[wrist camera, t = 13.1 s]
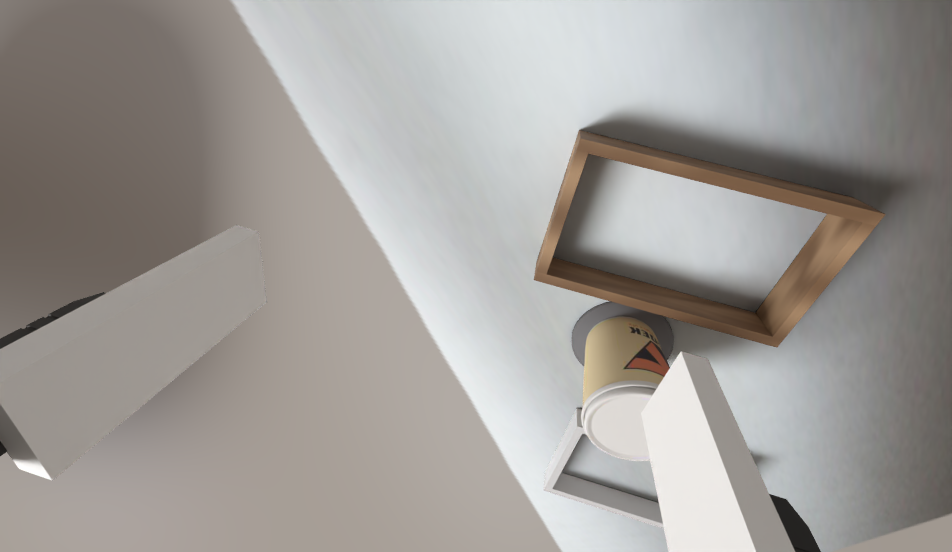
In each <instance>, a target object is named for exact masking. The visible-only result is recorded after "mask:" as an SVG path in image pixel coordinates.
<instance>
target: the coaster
mask: <svg viewBox="0 0 952 552" xmlns="http://www.w3.org/2000/svg"><path fill="white" fill-rule="evenodd" d="M618 316H624V317H632V318H636V319H638V320H640V321H642V322H644V323H645V324H647V325H648V326H649V327H650V328H651V329H652V330H653V332H654V333H655V335H656V337H657V339H658V342H659V344H660V346H661V348H662V351H663V353H664V355H665V357H666V360H667V359H668V357H669V356H670V354H671V351H672V348H673V343H674V342H673V334H672V330H671V328H670V325H669V323H668V322H667V320H666V319H665V318H664V317H663V316H662V315H658V314H655V313H651V312H647V311H644V310H640V309H637V308H633V307H629V306H626V305H622V304H619V303H615V302H607V303H603V304H600V305H598V306H596V307H593V308H592V309H590V310H588V311H587V312H586V313H585V314H583V315H582V316H581V317H580V319H579V320H578V321H577V323H576V325H575V326H574V329H573V332H572V348H573V351H574V354H575V356H576V358H577V359H578V361H579V362H580V363H581V364H582V365H583V366H584V364H585V347H586V339H587V336H588V334H589V332H590V331H591V329H592V328H593V327H594V326H595V325H596V324H598V323H599V322H601V321H603V320H605V319H608V318H611V317H618Z"/></svg>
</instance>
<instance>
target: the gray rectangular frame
mask: <svg viewBox="0 0 952 552" xmlns="http://www.w3.org/2000/svg"><path fill="white" fill-rule="evenodd" d="M581 412H582V409H579V408H576V410H575V412H574V414H573V416H572V418H571V420H570V422H569V424H568V426H567V428H566V430H565V432H564V434H563V436H562V438H561V440H560V442H559V444H558V446H557V448H556V450H555V452H554V454H553V456H552V458H551V460H550V462H549V464H548V466H547V468H546V470H545V473H544V491H547V492H550V493H553V494H557V495H560V496H563V497H566V498H569V499H572V500H575V501H579V502H582V503H585V504H588V505H591V506H594V507H598V508H601V509H604V510H607V511H610V512H613V513H616V514H620V515H623V516H626V517H629V518H632V519H635V520H638V521H642V522H645V523H648V524H651V525H654V526H657V527H661V528H664V526H663V521H662V516H661V511H660V506H659V503H657V502H654V501H651V500H647V499H644V498H641V497H638V496H635V495H631V494H628V493H625V492H622V491H619V490H615V489H612V488H609V487H606V486H603V485H599V484H596V483H593V482H590V481H587V480H583V479H580V478H577V477H574V476H571V475H567V474H564V473H561V472H562V470H563V468H564V466H565V464H566V462H567V461H568V459H569V457H570V455H571V453H572V451H573V450H574V448H575V446H576V444H577V442H578V440H579V439H580V437H581V435H582V434H585V435H587V434H586V433H585V431H584V429H583V426H582V422H581Z"/></svg>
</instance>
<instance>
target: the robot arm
mask: <svg viewBox="0 0 952 552" xmlns="http://www.w3.org/2000/svg"><path fill="white" fill-rule="evenodd" d="M266 302H267V299H266V290H265V281H264V273H263V263H262V255H261V245H260V236H259V231H255V230H252V229H248V228H245V227H241V226H238V225H236V226H234V227H232V228H230V229H228V230H226V231H224V232H223V233H221V234H219V235H217V236H215V237H213V238H211V239H209V240H207V241H205V242H203V243H201V244H199V245H198V246H196V247H194V248H192V249H190V250H188V251H186V252H184V253H182V254H181V255H179V256H177V257H175V258H173V259H171V260H169V261H167V262H165V263H163V264H161V265H159V266H158V267H156V268H154V269H152V270H150V271H148V272H146V273H144V274H142V275H140V276H139V277H137V278H135V279H133V280H131V281H129V282H127V283H125V284H123V285H121V286H119V287H118V288H116V289H114V290H112V291H110V292H108V293H104V292H103V293H100V294H96V295H93V296H90V297H87V298H83V299H80V300H77V301H74V302H72V303H70V304H68V305H66V306H64V307H62V308H60V309H58V310H56V311H54V312H52V313H50V314H48V317H46V318H44V317H42V318H40V319H38V320H36V321H34V322H32V323H30V324H28V325H27V327H26V328H25V329H21V328H20V329H18V330H16V331H14V332H13V333H10V334H8V335H7V336H5V337H3V338H1V339H0V456H1V455H3V454H4V453H6V452H7V453H8V454H9V456H10V457H11V458H12V460H13V461H14V462H15V464H16V465H17V466H18V468H19V469H21V470H24V471H27V472H29V473H32V474H35V475H38V476H41V477H44V478H47V479H50V480H54V479H55V478H56V477H57V476H59V475H60V474H61V473H62V472H63V471H65V470H66V469H67V468H68V467H69V466H71V465H72V464H73V463H74V462H75V461H77V460H78V459H79V458H80V457H81V456H82V455H84V454H85V453H86V452H87V451H89V450H90V449H91V448H92V447H93V446H95V445H96V444H97V443H98V442H99V441H100V440H102V439H103V438H104V437H105V436H107V435H108V434H109V433H110V432H111V431H113V430H114V429H115V428H116V427H117V426H119V425H120V424H121V423H122V422H123V421H124V420H126V419H127V418H128V417H129V416H131V415H132V414H133V413H134V412H135V411H137V410H138V409H139V408H140V407H141V406H143V405H144V404H145V403H146V402H147V401H149V400H150V399H151V398H152V397H153V396H155V395H156V394H157V393H158V392H159V391H160V390H162V389H163V388H164V387H165V386H167V385H168V384H169V383H170V382H171V381H173V380H174V379H175V378H176V377H177V376H178V375H180V374H181V373H182V372H183V371H184V370H186V369H187V368H188V367H189V366H191V365H192V364H193V363H194V362H195V361H197V360H198V359H199V358H200V357H201V356H202V355H204V354H205V353H206V352H207V351H209V350H210V349H211V348H212V347H213V346H215V345H216V344H217V343H218V342H219V341H221V340H222V339H223V338H224V337H225V336H227V335H228V334H229V333H230V332H231V331H233V330H234V329H235V328H236V327H237V326H239V325H240V324H241V323H242V322H243V321H245V320H246V319H247V318H248V317H249V316H251V315H252V314H253V313H254V312H255V311H257V310H258V309H259V308H260V307H261V306H263V305H264V304H265V303H266ZM641 416H642V421H643V426H644V431H645V436H646V441H647V446H648V451H649V456H650V461H651V466H652V471H653V476H654V481H655V486H656V491H657V496H658V501H659V506H660V511H661V516H662V521H663V526H664V531H665V536H666V541H667V546H668V551H669V552H821V551H820V549H819V547H818V545H817V543H816V541H815V539H814V537H813V535H812V533H811V531H810V529H809V527H808V526H807V525H806V523H805V522H804V521H803V520H802V518H801V517H800V516H799V515H798V513H797V512H796V511H795V510H794V508H793V507H792V506H791V505H790V503H789V502H788V501H787V500H786V499H784V498H780V497H777V496H774V495H770V494H769V493H768V491H767V488H766V486H765V484H764V482H763V480H762V477H761V475H760V473H759V471H758V469H757V466H756V464H755V462H754V460H753V458H752V455H751V453H750V451H749V449H748V446H747V444H746V442H745V440H744V438H743V435H742V433H741V431H740V429H739V427H738V424H737V422H736V420H735V418H734V416H733V413H732V411H731V409H730V407H729V405H728V402H727V400H726V398H725V396H724V394H723V391H722V389H721V387H720V385H719V382H718V380H717V378H716V376H715V374H714V371H713V369H712V367H711V365H710V363H709V360H708V359H707V358H703V357H700V356H696V355H693V354H689V353H686V352H682V351H681V352H680V353H679V355H678V356H677V358H676V359H675V361H674V363H673V364H672V366H671V367H670V369H669V370H668V372H667V373H666V375H665V377H664V378H663V380H662V381H661V383H660V384H659V386H658V387H657V389H656V391H655V392H654V394H653V395H652V397H651V398H650V400H649V401H648V403H647V405H646V406H645V408H644V409H643V411H642V412H641Z"/></svg>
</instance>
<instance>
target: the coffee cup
mask: <svg viewBox="0 0 952 552" xmlns="http://www.w3.org/2000/svg"><path fill="white" fill-rule="evenodd" d="M669 369H670V367H669V364H668V362H667V360H666V357H665V355H664V353H663V351H662V348H661V346H660V344H659V342H658V339H657V337H656V335H655V333H654V332H653V330H652V329H651V328H650V327H649V326H648V325H647V324H645V323H644V322H642V321H640V320H638V319H636V318H632V317H624V316H618V317H611V318H608V319H605V320H603V321H601V322H599V323H598V324H596V325H595V326H594V327H593V328H592V329H591V331H590V332H589V334H588V336H587V339H586V347H585V364H584V386H583V408H582V412H581V422H582V426H583V429H584V431H585V433H586V434H587V436H588V437H589V439H590V440H591V442H592V443H593V444H594V445H595V446H596V447H598V448H599V449H600V450H602V451H603V452H605V453H607V454H609V455H612V456H614V457H617V458H621V459H625V460H632V461H649V460H650V456H649V451H648V446H647V441H646V436H645V431H644V426H643V421H642V416H641V412H642V411H643V409H644V408H645V406H646V405H647V403H648V401H649V400H650V398H651V397H652V395H653V394H654V392H655V391H656V389H657V387H658V386H659V384H660V383H661V381H662V380H663V378H664V377H665V375H666V373H667V372H668V370H669Z"/></svg>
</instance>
